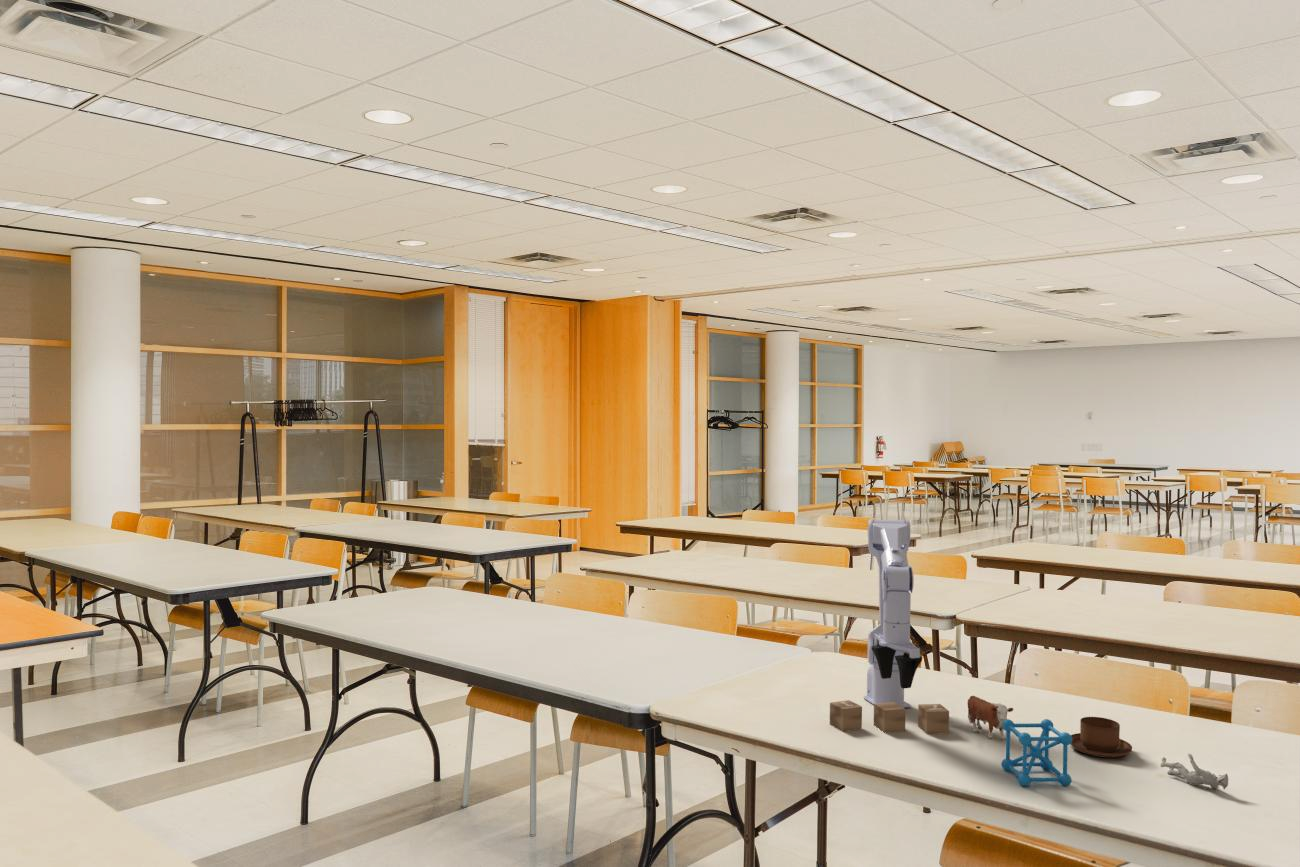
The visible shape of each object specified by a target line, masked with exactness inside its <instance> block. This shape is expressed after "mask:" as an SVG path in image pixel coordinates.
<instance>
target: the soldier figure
mask: <svg viewBox="0 0 1300 867" xmlns="http://www.w3.org/2000/svg"><path fill="white" fill-rule="evenodd" d="M1187 756H1188V758H1189V760H1190V761H1189V763H1190V764H1191V767H1192V769H1194V771H1189V769H1188V768H1186V767H1185V766H1184V765H1183V764H1182V763H1181V762H1167V758H1166V757H1162V758H1161V763H1160V768H1169V770H1167V775H1176V776H1182V777H1183V779H1185V780H1186V781H1187V783H1189V784H1191V785H1192V786H1200V785H1205V786H1206V785H1207V786H1210V788H1211V789H1216V788H1217V787H1219V786H1220V787H1222V789H1223V790H1225V789H1227V787H1228V786H1229V776H1228V773H1225V774H1219V775H1218V776H1217V775H1216V774H1215V773H1211V771H1209V770H1204V769H1202V768H1200V767H1199V766H1198V765H1197V763H1196V762H1195V760H1194V756H1193V755H1192V753H1187ZM1175 769H1176V770H1175ZM1225 791H1226V790H1225Z"/></svg>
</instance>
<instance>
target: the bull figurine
mask: <svg viewBox="0 0 1300 867" xmlns="http://www.w3.org/2000/svg"><path fill="white" fill-rule="evenodd" d="M967 709H968V711H967V712H968V714H967V718H968V721H969V723H970V725H971V724H972V730H973V732H974V733H976V734H977V733H979V729H983V727H982V725H981V723H980V721H981V722H983V725H986V724H988V730H989V732H988V734H987V737H988V739H989V740H993V739H994V736H993V731H994V728H995V729H996V730H999V732H1000V736H999V737H1000V739H1001V740H1002V741H1006V735H1005V733H1004V731H1005V730H1004V729H1003V728H1002V722H1003V721H1004V720H1006V719H1008V713H1011V712H1013V711H1014V708H1013V707H1007V706H1006V705H1004V704H1002V703H999V702H998V703H995V702H993V703H992V702H989V701H987V700H985V699H982V698H980V697H978V696H975V695H971V696H970V697H969V698H968V699H967Z"/></svg>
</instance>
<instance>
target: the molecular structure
mask: <svg viewBox="0 0 1300 867" xmlns="http://www.w3.org/2000/svg"><path fill="white" fill-rule="evenodd" d="M1002 728H1003V729H1004V731H1005V738H1006V740H1005V758H1003V759H1002V760H1001V762H1000V764H1001V768H1002V769H1003V770H1004V771H1006V772H1008V771H1011V772H1013V773H1014V774H1015V776H1016V777H1017V781H1018V784H1019V785H1020V786H1022V787H1028V786H1030V784H1031V783H1034V782H1037V783H1041V782H1044V783H1047V782H1048V783H1054V782H1056V783H1059V784H1060V785H1061V786H1063V787H1068V786H1070V785H1071V784H1072V782H1073V781H1072V780H1073V779H1072V777H1071V775H1070V774H1068V746H1071V745H1070V744H1071V743H1072V737H1071V735H1072V734H1070V733H1068V732H1060V731H1059V730H1057V729H1056V728H1054V723H1053V721H1052V720H1050V719H1047V718H1045V719H1043V720H1042V721H1040V723H1015V722H1014V721H1013V720H1011V719H1009V718H1007V719H1006V720H1004V721H1003V722H1002ZM1016 728H1041V729H1042V731H1041V733H1040V736H1031V734H1030V733H1028V732H1020V731H1019V730H1017V729H1016ZM1011 732H1012V733H1013V735H1015V736H1016V737H1017V740H1018V742H1019V743H1020V744H1021V746H1022V755H1021V756H1019V757H1017V758H1013V759H1010V758H1011V755H1010V754H1011ZM1050 732H1052V733H1054V734H1055V735H1056V736H1050ZM1032 742H1037V744H1036V745H1034V744H1032ZM1043 742H1044V745H1043V746H1042V744H1043ZM1049 742H1050V743H1049ZM1060 744H1061V745H1062V749H1063V752H1062V772H1061V771H1059V769H1058V768H1056V767H1055V766H1054V764H1053V761H1052V760H1051V759H1050V758H1049V755H1050V753H1049V752H1050V749H1051V748H1053V747H1055V746H1057V745H1058V746H1059V745H1060ZM1028 749H1029V752H1028ZM1043 752H1044V755H1043ZM1029 758H1030V760H1029V761H1028V759H1029ZM1036 759H1038V760H1039V762H1038V761H1037V762H1035V761H1036ZM1021 761H1022V762H1021ZM1015 767H1022V771H1021V772H1022V773H1020V771H1018V769H1016V768H1015ZM1033 767H1040V768H1041V769H1042V770H1044V771H1046V772H1047V771H1051V772H1052V773H1053V774H1054V775H1056V776H1057V777H1031V776H1030V773H1031V771H1032V769H1033Z"/></svg>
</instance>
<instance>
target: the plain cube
mask: <svg viewBox="0 0 1300 867" xmlns="http://www.w3.org/2000/svg"><path fill="white" fill-rule="evenodd" d="M873 726H874V727H875V726H876V727H875V728H877V729H878V728H879V729H880V730H879V729H878V730H879V731H881V732H882V731H883V732H882V733H883V734H885V732H888V733H899V732H900V733H901V731H902V732H906V708H903V707H902V706H900V705H898V704H897V703H895V702H888V703H874V705H873Z"/></svg>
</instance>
